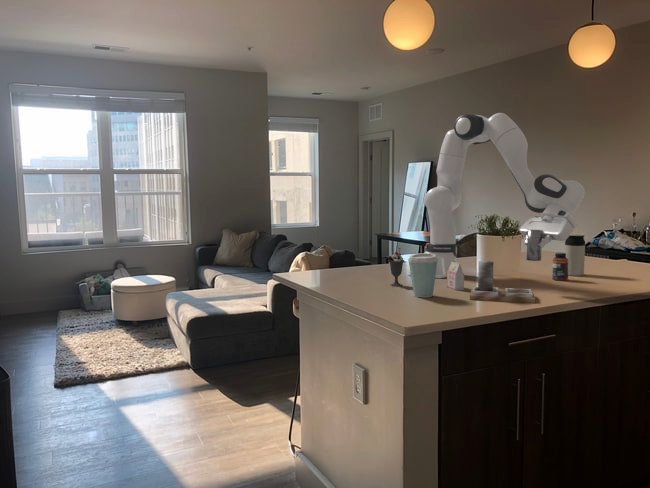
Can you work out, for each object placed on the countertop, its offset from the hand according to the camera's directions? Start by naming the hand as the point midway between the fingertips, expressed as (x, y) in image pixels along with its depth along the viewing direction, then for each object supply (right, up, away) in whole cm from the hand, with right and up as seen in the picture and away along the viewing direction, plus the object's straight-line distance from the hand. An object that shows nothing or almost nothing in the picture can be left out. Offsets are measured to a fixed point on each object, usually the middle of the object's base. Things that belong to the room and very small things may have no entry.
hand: (532, 245), depth 190 cm
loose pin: (+1, -5, +1) cm, 5 cm away
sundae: (-47, -16, +19) cm, 53 cm away
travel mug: (+34, -13, +39) cm, 53 cm away
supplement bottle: (+22, -15, +27) cm, 38 cm away
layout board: (-14, -18, -7) cm, 24 cm away
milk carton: (-25, -17, +12) cm, 33 cm away
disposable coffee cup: (-41, -18, -2) cm, 45 cm away
